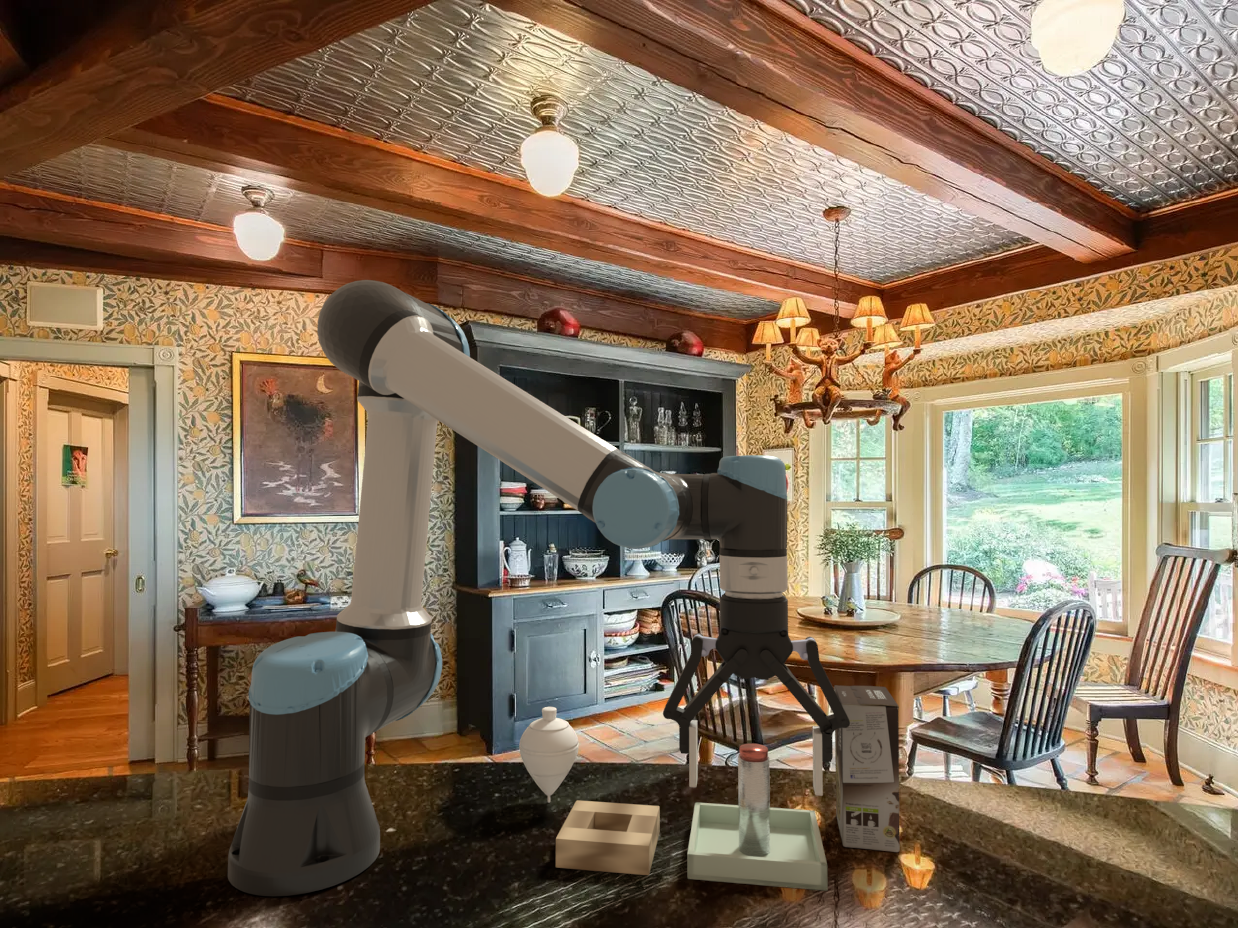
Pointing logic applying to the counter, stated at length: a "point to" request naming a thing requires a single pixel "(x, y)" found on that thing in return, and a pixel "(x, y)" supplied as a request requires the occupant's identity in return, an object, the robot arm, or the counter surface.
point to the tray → (721, 860)
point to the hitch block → (609, 837)
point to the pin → (754, 800)
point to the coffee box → (868, 769)
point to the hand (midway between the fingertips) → (754, 786)
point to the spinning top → (549, 750)
